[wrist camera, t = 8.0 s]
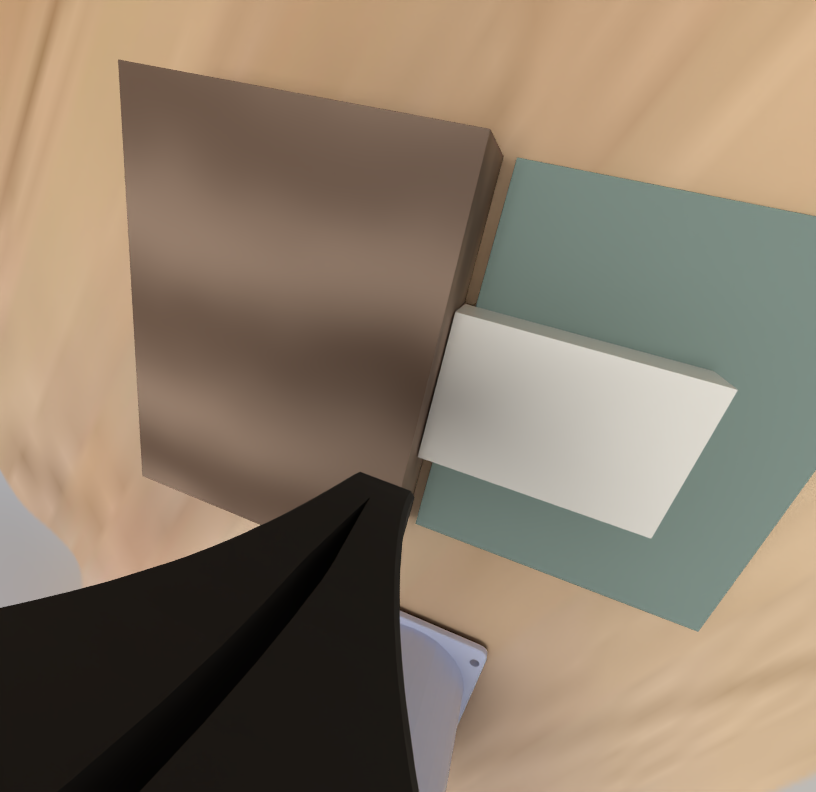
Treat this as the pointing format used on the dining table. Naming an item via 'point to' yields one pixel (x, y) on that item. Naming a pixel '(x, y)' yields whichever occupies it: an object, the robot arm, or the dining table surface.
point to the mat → (669, 338)
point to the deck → (291, 282)
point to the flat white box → (570, 417)
